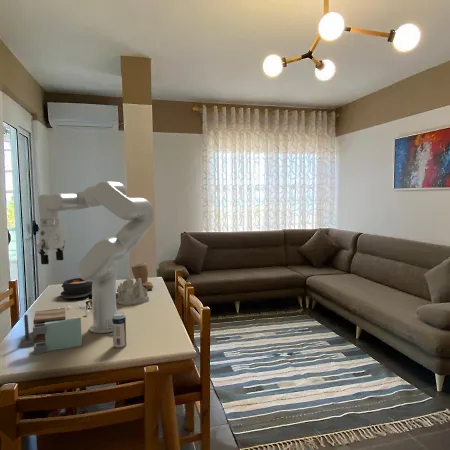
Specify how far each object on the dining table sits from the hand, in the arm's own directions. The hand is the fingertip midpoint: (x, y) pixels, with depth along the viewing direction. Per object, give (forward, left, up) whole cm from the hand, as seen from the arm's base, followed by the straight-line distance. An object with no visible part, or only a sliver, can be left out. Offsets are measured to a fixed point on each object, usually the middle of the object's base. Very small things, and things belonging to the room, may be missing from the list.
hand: (52, 262), depth 156 cm
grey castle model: (-1, -42, -28) cm, 50 cm away
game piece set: (+6, -12, -28) cm, 31 cm away
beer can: (-44, -1, -27) cm, 52 cm away
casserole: (+33, -32, -28) cm, 54 cm away
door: (-27, +14, -27) cm, 40 cm away
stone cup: (+15, -63, -28) cm, 70 cm away
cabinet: (-11, +10, -27) cm, 31 cm away
